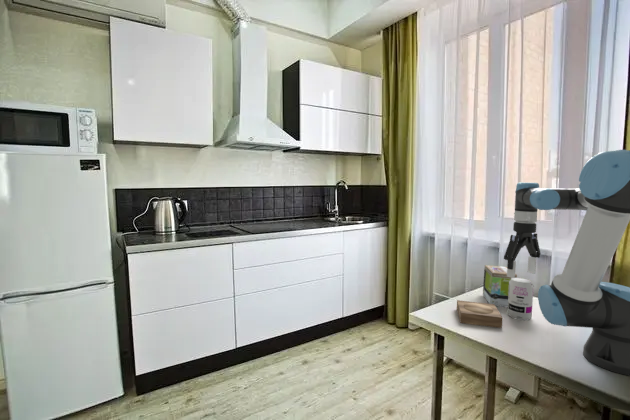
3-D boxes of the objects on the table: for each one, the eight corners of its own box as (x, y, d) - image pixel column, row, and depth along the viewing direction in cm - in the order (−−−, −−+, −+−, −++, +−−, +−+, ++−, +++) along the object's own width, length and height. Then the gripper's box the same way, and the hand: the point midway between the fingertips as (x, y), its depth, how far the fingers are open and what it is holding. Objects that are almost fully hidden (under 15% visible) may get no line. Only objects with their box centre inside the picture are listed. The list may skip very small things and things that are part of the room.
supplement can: (524, 313, 134) (526, 277, 133) (535, 321, 126) (538, 283, 125) (503, 312, 135) (505, 276, 134) (513, 320, 127) (515, 282, 126)
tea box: (515, 308, 139) (517, 274, 138) (489, 305, 142) (491, 272, 141) (505, 296, 154) (507, 265, 153) (482, 294, 157) (483, 264, 155)
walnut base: (501, 328, 120) (502, 317, 120) (460, 322, 124) (461, 312, 124) (493, 313, 133) (494, 303, 133) (456, 309, 138) (457, 299, 137)
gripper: (533, 219, 136) (529, 268, 139) (495, 222, 125) (492, 276, 127) (553, 221, 130) (549, 273, 132) (515, 225, 118) (511, 282, 120)
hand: (521, 275), depth 129 cm, fingers open, 13 cm apart
